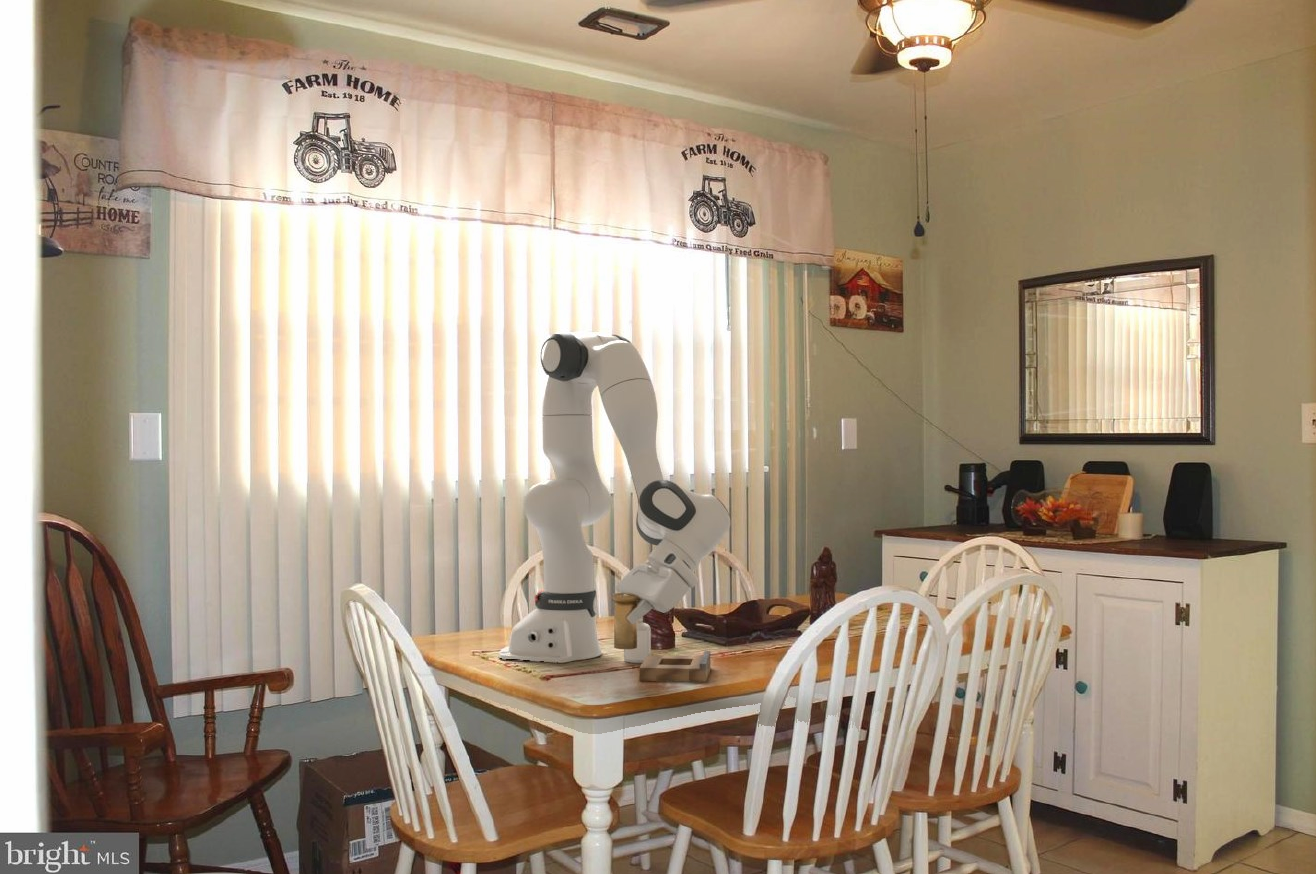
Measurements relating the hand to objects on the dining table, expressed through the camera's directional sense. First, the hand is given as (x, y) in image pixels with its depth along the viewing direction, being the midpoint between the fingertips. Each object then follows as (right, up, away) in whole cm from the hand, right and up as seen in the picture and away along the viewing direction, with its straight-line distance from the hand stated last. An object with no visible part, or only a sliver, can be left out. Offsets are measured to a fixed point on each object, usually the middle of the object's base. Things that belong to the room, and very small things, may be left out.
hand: (622, 619), depth 197 cm
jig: (+10, -13, +10) cm, 20 cm away
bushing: (+1, -5, 0) cm, 5 cm away
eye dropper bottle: (+2, -13, +23) cm, 27 cm away
